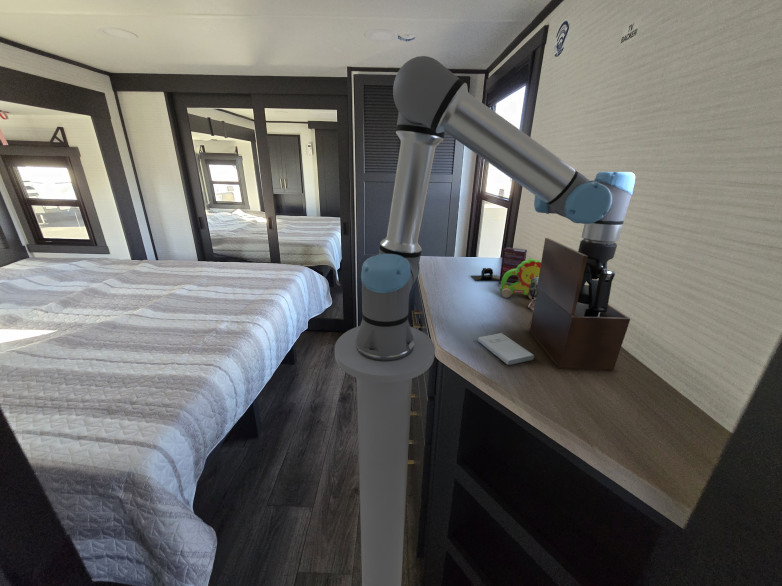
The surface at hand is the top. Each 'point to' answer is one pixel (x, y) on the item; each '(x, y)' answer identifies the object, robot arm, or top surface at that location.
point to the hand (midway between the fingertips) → (576, 325)
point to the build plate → (486, 276)
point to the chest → (578, 335)
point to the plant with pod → (533, 291)
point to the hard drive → (505, 349)
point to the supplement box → (511, 263)
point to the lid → (561, 274)
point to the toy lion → (521, 278)
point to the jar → (583, 301)
